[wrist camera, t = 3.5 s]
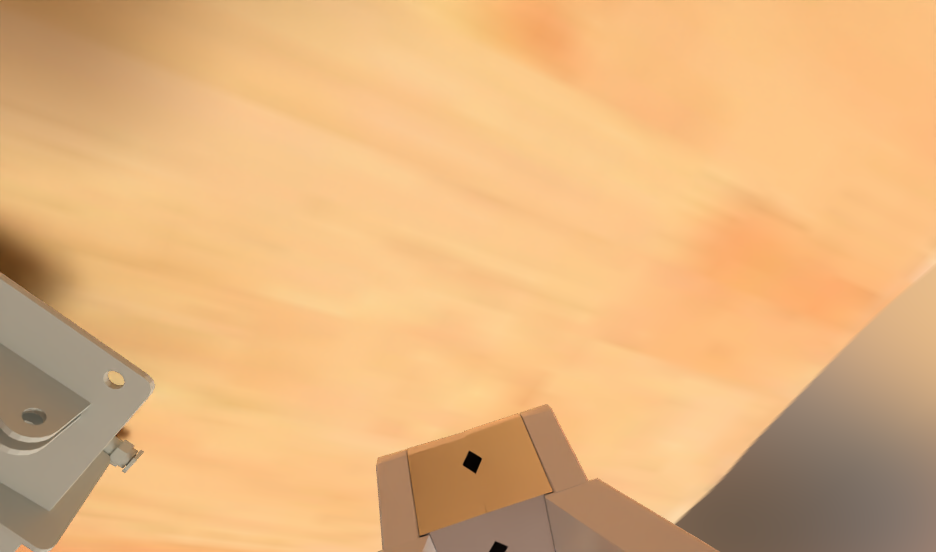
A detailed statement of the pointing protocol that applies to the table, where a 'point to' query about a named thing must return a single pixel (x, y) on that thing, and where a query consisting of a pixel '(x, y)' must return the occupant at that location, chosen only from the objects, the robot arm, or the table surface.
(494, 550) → the robot arm
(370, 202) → the table surface
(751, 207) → the table surface
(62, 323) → the metal bracket
